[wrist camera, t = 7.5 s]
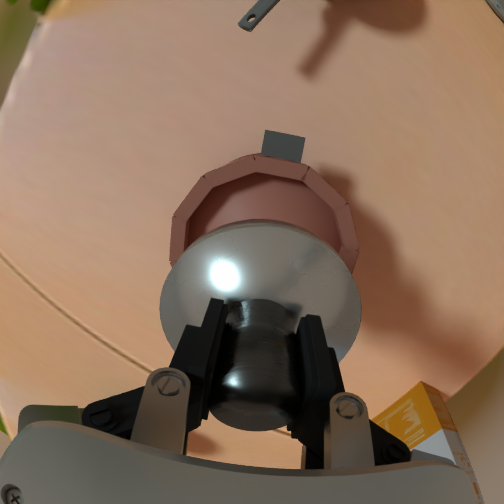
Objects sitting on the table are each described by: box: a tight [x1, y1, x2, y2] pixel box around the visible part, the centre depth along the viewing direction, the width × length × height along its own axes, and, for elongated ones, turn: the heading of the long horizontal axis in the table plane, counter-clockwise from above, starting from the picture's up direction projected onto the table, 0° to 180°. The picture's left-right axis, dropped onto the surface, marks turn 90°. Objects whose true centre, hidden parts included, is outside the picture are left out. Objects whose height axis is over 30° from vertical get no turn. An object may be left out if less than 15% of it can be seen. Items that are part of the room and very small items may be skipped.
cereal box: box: [371, 381, 484, 504], centre depth 25 cm, size 22×6×30 cm, turn 147°
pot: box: [169, 130, 359, 275], centre depth 23 cm, size 13×17×8 cm
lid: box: [160, 219, 361, 431], centre depth 11 cm, size 9×9×6 cm
